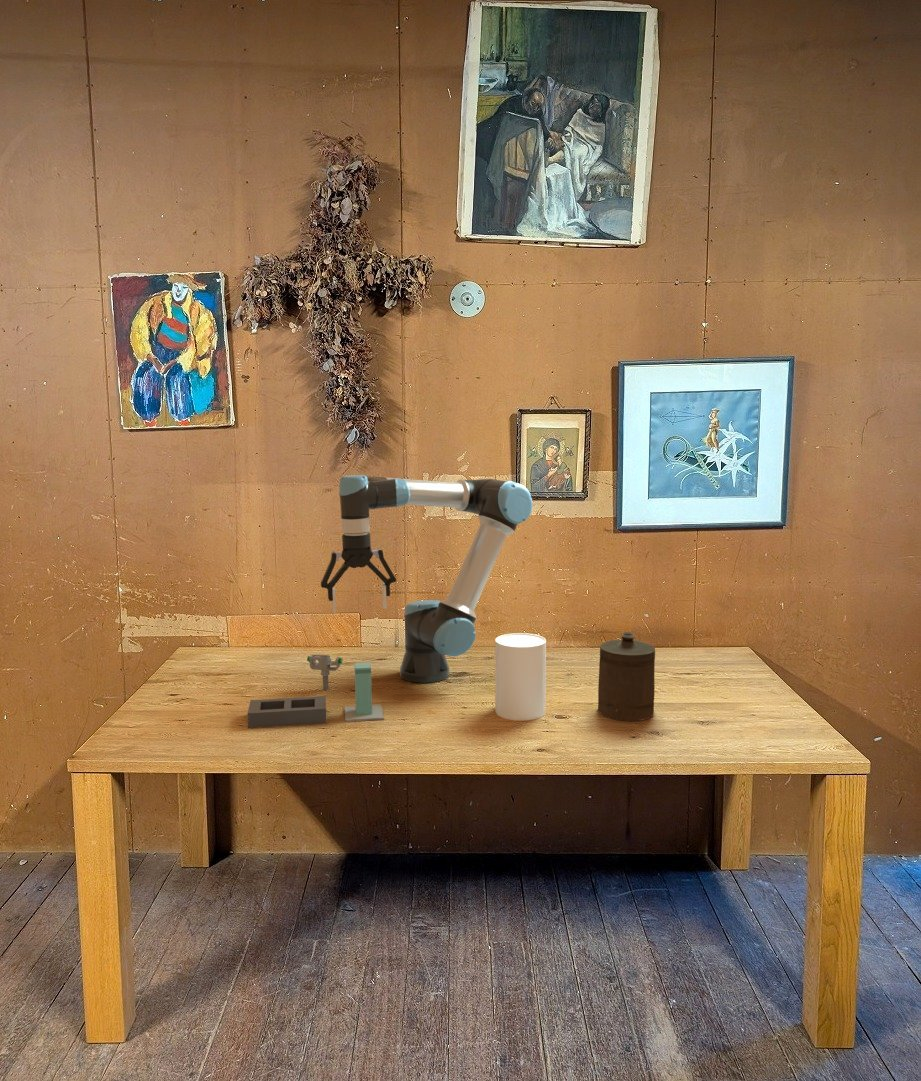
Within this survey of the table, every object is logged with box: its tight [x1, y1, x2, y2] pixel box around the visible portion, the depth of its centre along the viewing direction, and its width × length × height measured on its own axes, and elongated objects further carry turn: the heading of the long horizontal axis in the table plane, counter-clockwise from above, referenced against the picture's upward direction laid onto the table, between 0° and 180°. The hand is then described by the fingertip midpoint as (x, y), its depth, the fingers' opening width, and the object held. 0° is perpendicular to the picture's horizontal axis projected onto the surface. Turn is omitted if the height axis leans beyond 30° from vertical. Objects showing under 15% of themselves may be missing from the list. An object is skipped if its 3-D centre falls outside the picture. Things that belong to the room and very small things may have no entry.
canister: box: [494, 632, 547, 722], centre depth 237 cm, size 14×14×20 cm
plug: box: [353, 662, 373, 715], centre depth 236 cm, size 4×4×13 cm
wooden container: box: [597, 631, 656, 722], centre depth 237 cm, size 15×15×22 cm
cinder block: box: [247, 695, 327, 729], centre depth 234 cm, size 20×10×4 cm, turn 99°
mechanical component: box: [306, 653, 344, 691], centre depth 257 cm, size 3×10×10 cm, turn 79°
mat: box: [344, 704, 385, 723], centre depth 238 cm, size 10×10×1 cm
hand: (360, 610), depth 240 cm, fingers open, 13 cm apart
